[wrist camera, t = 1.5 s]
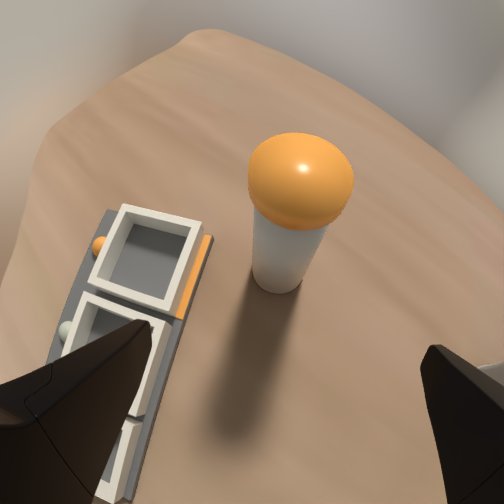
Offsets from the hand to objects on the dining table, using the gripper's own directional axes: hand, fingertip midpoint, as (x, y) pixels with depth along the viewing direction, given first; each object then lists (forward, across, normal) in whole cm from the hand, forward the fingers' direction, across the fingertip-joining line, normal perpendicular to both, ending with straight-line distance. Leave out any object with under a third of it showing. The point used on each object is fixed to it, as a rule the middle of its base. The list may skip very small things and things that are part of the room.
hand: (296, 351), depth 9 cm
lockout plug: (+15, 0, +4) cm, 15 cm away
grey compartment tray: (+9, +12, +10) cm, 18 cm away
